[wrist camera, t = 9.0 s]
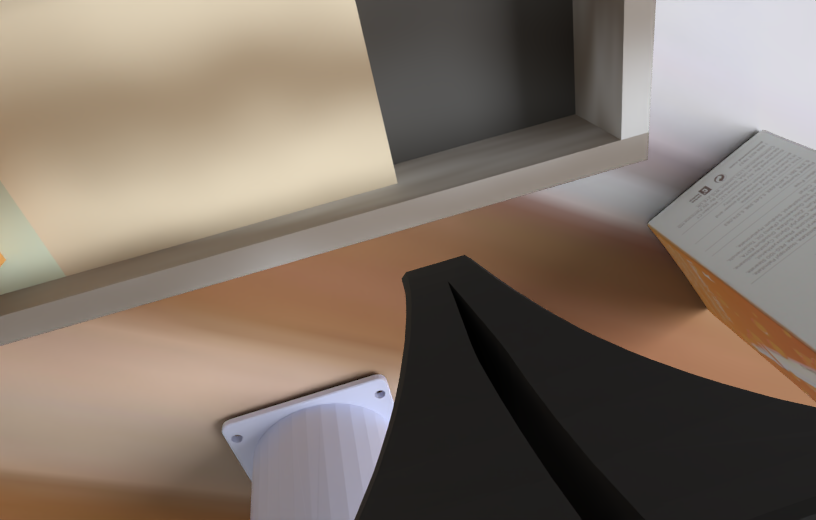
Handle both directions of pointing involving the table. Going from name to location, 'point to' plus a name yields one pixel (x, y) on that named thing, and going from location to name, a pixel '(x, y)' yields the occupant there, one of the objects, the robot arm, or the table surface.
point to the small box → (754, 249)
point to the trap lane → (285, 131)
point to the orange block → (2, 259)
